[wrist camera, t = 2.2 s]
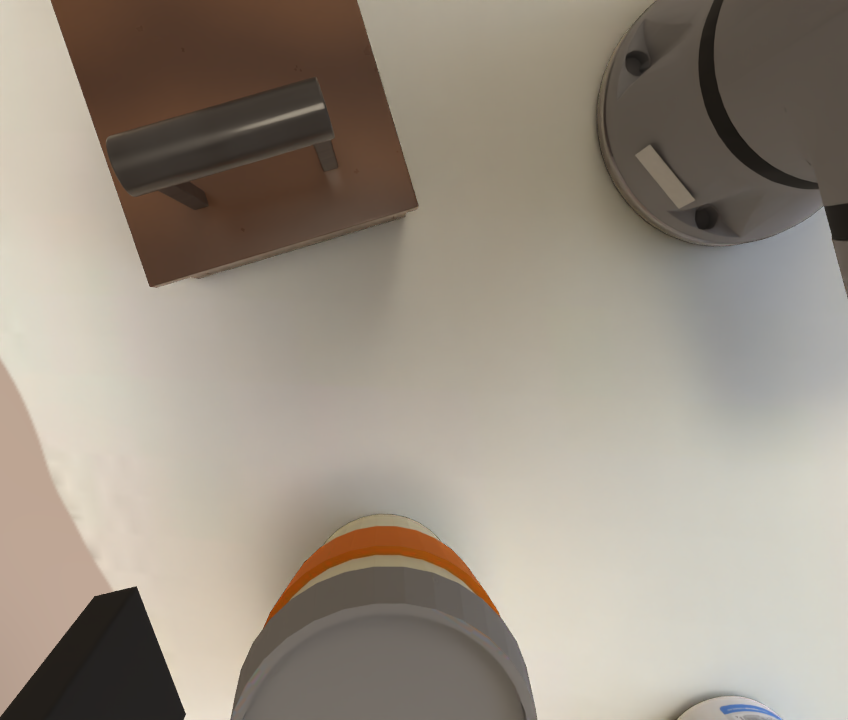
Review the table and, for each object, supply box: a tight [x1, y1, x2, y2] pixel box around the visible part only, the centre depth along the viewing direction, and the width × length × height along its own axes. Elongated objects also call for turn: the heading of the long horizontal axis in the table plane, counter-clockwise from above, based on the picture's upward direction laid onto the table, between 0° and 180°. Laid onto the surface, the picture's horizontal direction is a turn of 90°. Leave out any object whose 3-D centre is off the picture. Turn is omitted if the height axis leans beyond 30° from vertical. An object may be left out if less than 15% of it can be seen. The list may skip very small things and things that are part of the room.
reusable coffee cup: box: [231, 514, 537, 720], centre depth 32 cm, size 13×12×15 cm
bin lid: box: [51, 0, 418, 288], centre depth 24 cm, size 15×13×9 cm
